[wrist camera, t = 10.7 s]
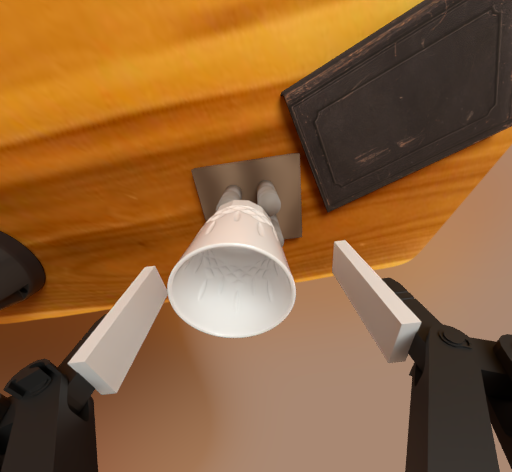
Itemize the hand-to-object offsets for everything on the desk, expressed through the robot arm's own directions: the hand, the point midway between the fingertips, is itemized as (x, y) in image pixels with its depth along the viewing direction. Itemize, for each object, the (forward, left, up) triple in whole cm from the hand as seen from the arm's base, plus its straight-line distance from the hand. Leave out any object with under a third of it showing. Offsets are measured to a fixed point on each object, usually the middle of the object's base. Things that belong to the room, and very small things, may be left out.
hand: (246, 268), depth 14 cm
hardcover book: (+19, +9, -17) cm, 27 cm away
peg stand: (0, 0, -16) cm, 16 cm away
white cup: (-1, 0, -8) cm, 8 cm away
